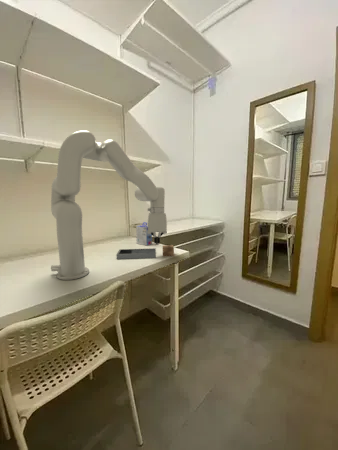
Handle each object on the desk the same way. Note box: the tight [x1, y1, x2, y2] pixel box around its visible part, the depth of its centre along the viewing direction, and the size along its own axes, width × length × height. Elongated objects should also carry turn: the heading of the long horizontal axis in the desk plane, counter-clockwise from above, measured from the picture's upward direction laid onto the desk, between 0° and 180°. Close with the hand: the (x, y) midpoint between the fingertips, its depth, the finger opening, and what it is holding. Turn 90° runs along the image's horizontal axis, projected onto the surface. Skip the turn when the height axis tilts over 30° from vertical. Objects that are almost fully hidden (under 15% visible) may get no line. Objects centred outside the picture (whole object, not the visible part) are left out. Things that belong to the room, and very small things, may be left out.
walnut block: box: [162, 244, 175, 257], centre depth 116 cm, size 6×5×5 cm
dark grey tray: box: [115, 247, 157, 260], centre depth 115 cm, size 20×10×2 cm, turn 94°
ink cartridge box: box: [135, 221, 153, 246], centre depth 140 cm, size 10×6×14 cm, turn 53°
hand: (156, 244), depth 115 cm, fingers closed
